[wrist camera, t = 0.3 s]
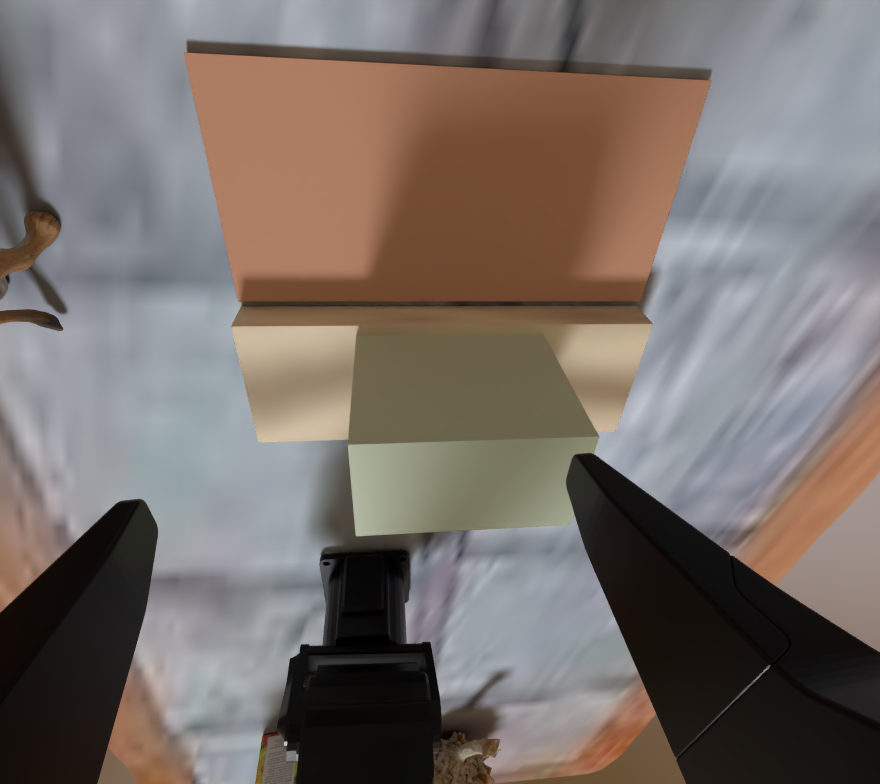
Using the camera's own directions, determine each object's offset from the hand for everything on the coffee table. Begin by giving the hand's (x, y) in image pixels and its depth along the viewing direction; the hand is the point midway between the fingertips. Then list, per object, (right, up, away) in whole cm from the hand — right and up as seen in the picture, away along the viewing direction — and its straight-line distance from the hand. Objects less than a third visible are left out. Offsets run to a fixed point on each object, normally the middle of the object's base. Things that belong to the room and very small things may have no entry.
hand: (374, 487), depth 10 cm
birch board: (+2, +4, +16) cm, 17 cm away
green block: (+2, +3, +14) cm, 15 cm away
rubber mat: (+2, +11, +11) cm, 15 cm away
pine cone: (+3, -38, +48) cm, 61 cm away
